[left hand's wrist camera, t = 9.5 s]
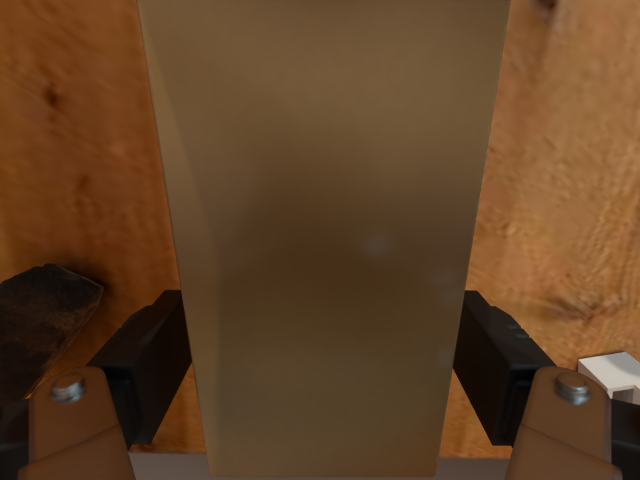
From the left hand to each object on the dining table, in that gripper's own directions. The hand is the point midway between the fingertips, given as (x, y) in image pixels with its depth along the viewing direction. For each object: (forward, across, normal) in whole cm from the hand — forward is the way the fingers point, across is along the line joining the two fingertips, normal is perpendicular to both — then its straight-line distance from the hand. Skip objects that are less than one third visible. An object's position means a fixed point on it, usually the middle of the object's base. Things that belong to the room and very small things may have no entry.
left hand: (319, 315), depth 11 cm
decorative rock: (+14, +20, +9) cm, 27 cm away
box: (+8, 0, -9) cm, 12 cm away
